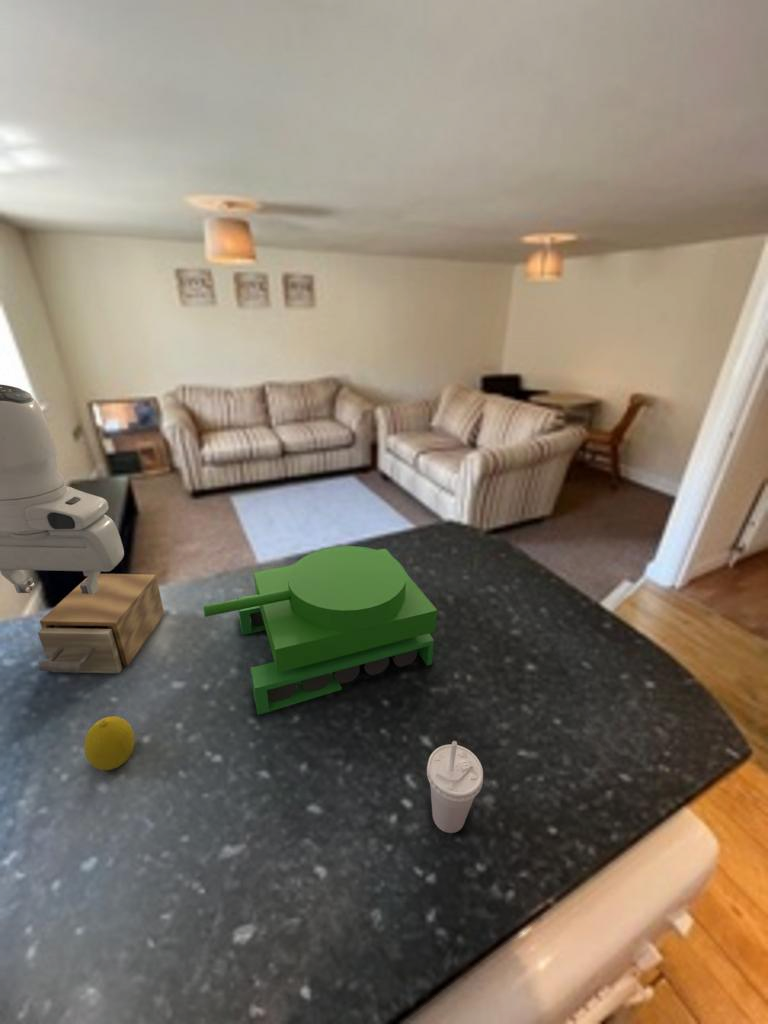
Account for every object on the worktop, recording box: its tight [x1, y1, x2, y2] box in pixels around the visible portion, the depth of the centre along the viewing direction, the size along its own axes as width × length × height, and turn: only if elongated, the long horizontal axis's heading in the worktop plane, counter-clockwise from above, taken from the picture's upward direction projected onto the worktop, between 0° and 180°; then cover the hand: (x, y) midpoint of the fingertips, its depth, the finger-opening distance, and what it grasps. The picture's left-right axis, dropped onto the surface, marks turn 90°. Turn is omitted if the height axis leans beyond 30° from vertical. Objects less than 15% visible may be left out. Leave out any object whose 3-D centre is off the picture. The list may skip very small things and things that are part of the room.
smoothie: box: [426, 740, 484, 834], centre depth 52 cm, size 6×6×14 cm
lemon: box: [83, 715, 136, 771], centre depth 59 cm, size 6×6×8 cm
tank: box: [203, 545, 438, 716], centre depth 78 cm, size 24×35×16 cm
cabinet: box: [39, 573, 165, 667], centre depth 80 cm, size 14×12×10 cm
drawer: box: [37, 625, 123, 674], centre depth 76 cm, size 18×11×8 cm, turn 0°
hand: (58, 591), depth 67 cm, fingers open, 8 cm apart
